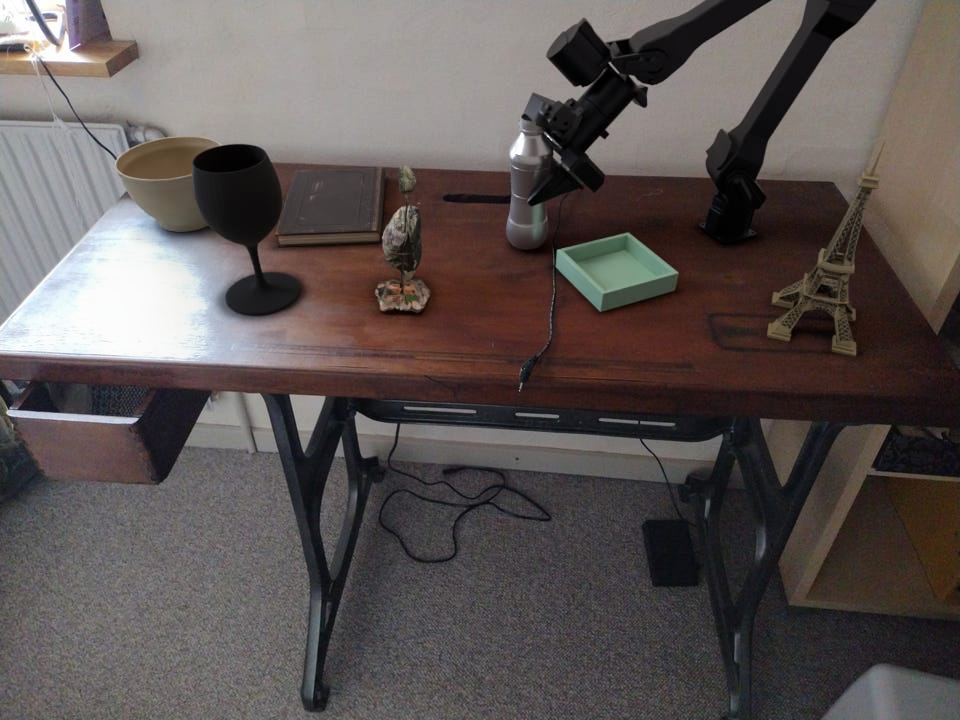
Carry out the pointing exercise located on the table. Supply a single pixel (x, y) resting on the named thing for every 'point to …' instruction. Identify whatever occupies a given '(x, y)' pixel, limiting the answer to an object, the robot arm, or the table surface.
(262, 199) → the wine glass
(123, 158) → the planter bowl
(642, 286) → the bin
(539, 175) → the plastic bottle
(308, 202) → the hardcover book
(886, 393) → the table surface
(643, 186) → the table surface
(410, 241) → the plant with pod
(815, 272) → the eiffel tower
